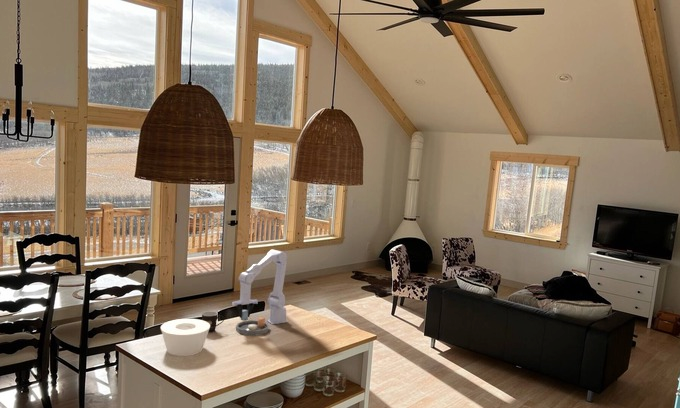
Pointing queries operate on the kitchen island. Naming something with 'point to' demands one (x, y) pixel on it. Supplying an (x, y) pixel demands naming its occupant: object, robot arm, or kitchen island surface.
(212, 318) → the coffee mug
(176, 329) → the bowl
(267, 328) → the groove tray
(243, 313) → the slate bead
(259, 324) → the terracotta bead
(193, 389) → the kitchen island surface
